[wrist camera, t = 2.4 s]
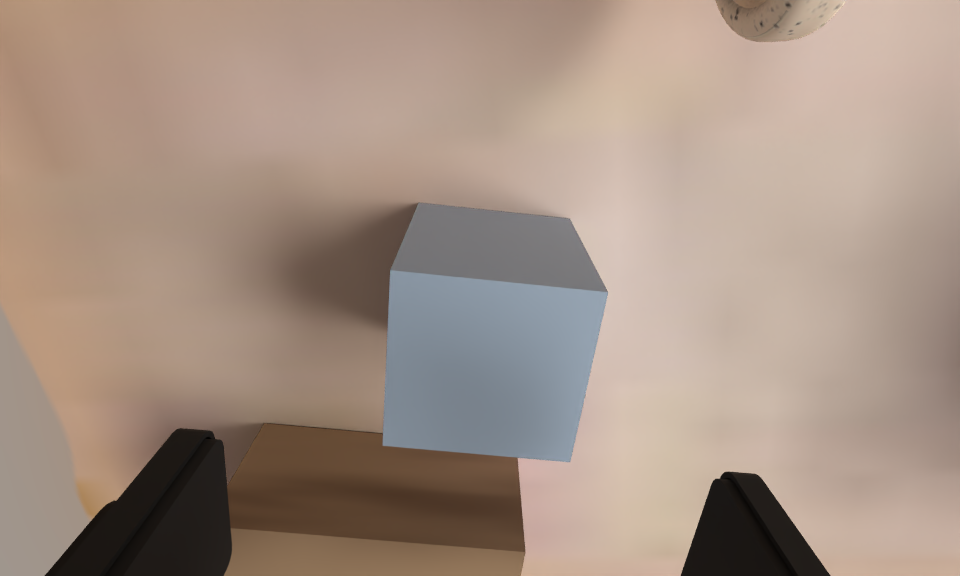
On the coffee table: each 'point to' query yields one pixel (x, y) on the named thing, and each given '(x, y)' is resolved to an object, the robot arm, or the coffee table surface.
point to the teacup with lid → (777, 17)
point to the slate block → (490, 334)
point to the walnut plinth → (371, 508)
